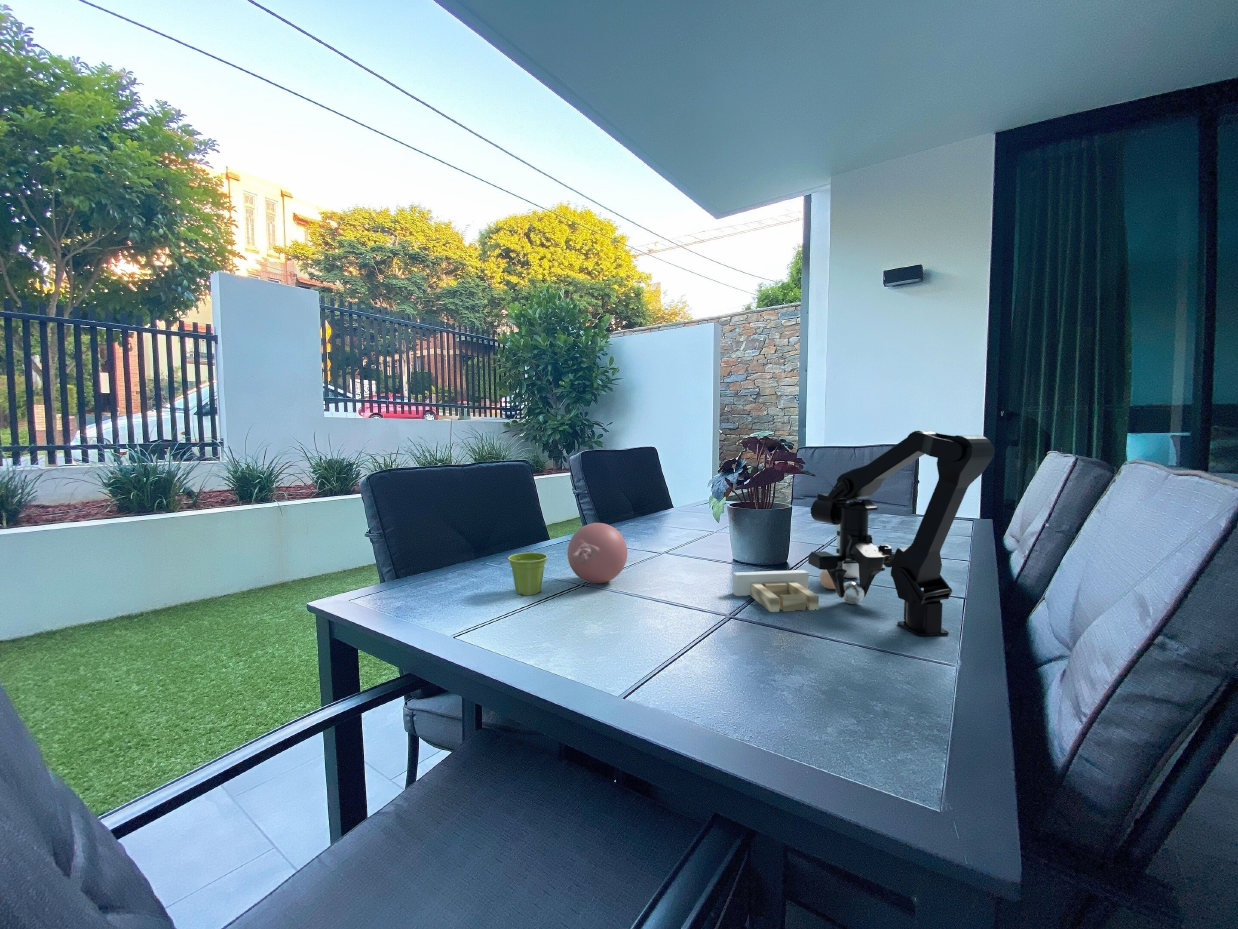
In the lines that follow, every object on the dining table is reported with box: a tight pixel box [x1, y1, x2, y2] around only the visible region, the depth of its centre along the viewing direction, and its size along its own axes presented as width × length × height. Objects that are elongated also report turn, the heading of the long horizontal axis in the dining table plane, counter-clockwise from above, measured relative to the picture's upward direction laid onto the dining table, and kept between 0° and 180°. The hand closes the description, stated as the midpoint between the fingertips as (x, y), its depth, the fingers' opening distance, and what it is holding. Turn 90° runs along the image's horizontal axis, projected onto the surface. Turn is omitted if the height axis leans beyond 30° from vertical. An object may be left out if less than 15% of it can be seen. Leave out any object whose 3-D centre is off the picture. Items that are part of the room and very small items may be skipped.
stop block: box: [732, 569, 810, 597], centre depth 124 cm, size 2×18×5 cm, turn 97°
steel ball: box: [841, 580, 865, 605], centre depth 116 cm, size 5×5×5 cm
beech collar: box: [750, 582, 820, 613], centre depth 117 cm, size 11×11×3 cm
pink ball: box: [567, 522, 628, 584], centre depth 130 cm, size 15×20×15 cm
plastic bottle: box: [835, 501, 859, 579], centre depth 137 cm, size 6×7×20 cm
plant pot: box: [507, 552, 549, 596], centre depth 125 cm, size 9×9×9 cm
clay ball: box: [819, 570, 836, 590], centre depth 127 cm, size 5×5×5 cm
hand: (851, 596), depth 116 cm, fingers closed on steel ball, 5 cm apart
